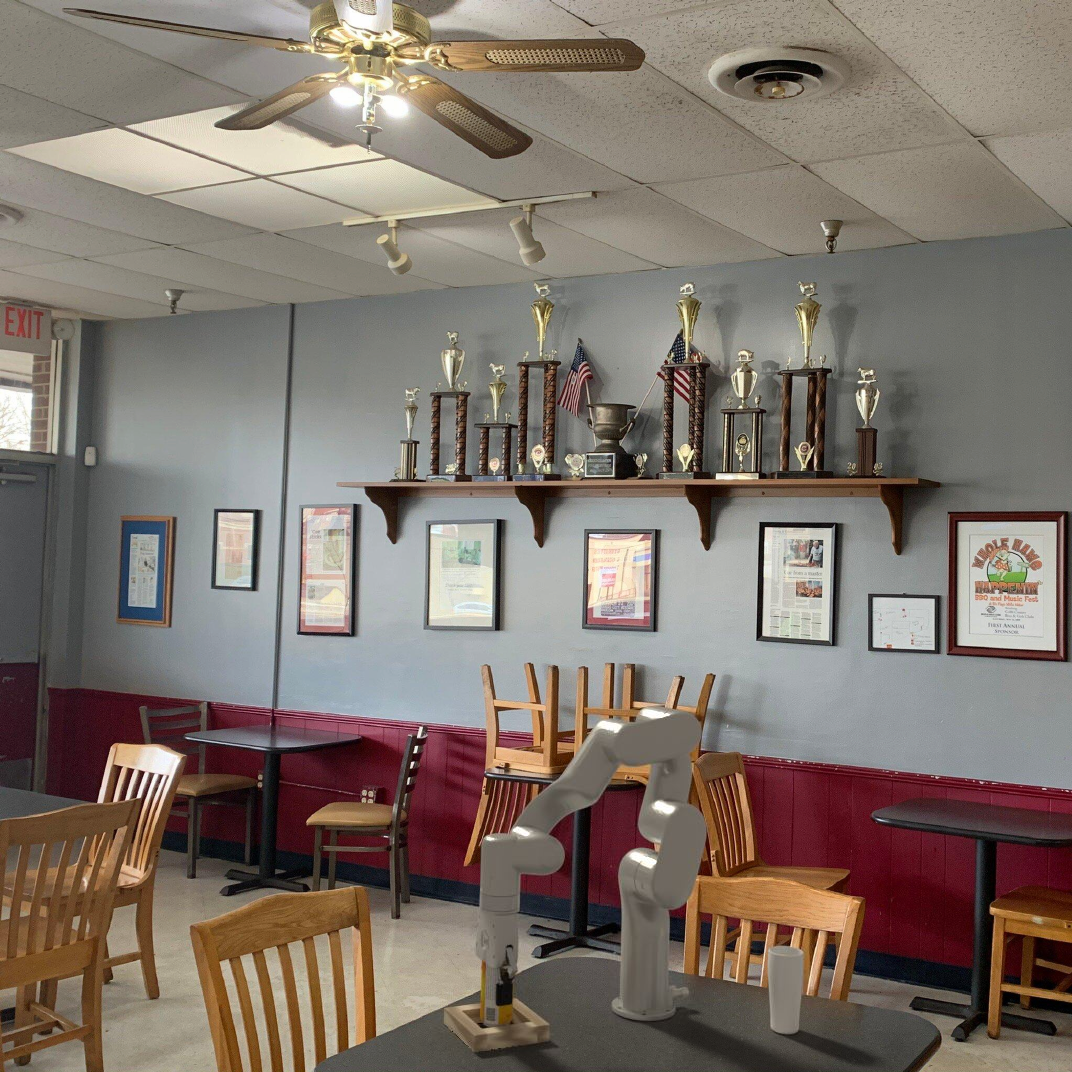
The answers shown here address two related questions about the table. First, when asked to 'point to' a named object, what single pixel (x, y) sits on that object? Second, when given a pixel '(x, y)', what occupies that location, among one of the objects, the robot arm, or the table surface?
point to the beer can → (492, 997)
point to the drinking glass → (785, 987)
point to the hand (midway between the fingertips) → (496, 998)
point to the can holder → (520, 1033)
